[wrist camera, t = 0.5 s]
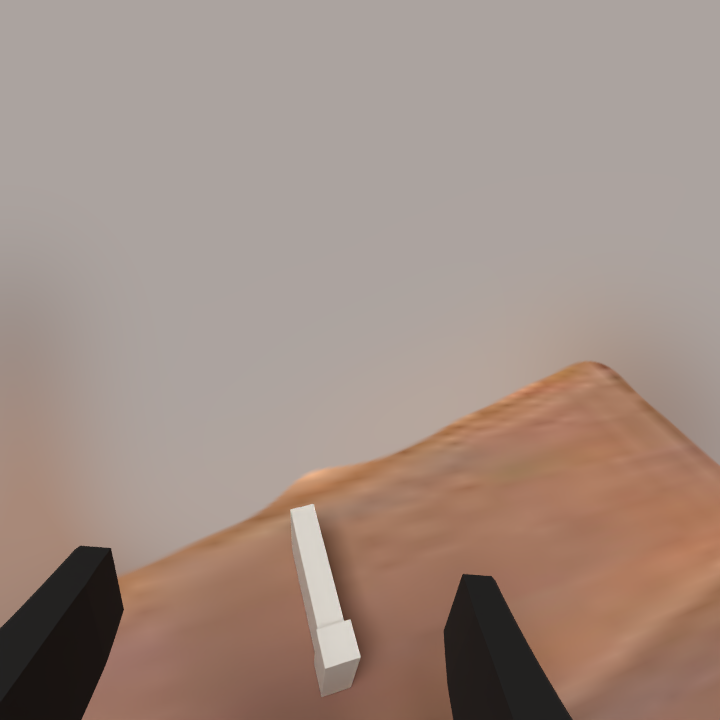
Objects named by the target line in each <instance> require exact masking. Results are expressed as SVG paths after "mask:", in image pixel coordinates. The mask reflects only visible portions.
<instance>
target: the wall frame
mask: <svg viewBox="0 0 720 720" xmlns="http://www.w3.org/2000/svg"><path fill="white" fill-rule="evenodd" d="M290 512H291V535H292V551H293V556H294V560H295V565H296V569H297V574H298V578H299V583H300V587H301V592H302V597H303V601H304V606H305V610H306V615H307V619H308V624H309V628H310V633H311V638H312V642H313V647H314V651H315V658H314V665H315V670H316V675H317V679H318V684H319V689H320V693H321V697H324V696H327V695H330V694H333V693H336V692H339V691H342V690H345V689H348V688H351V686H352V683H353V679H354V676H355V673H356V670H357V667H358V664H359V661H360V658H361V657H360V653H359V649H358V646H357V642H356V638H355V634H354V631H353V627H352V623H351V620H346V621H344V619H343V615H342V611H341V607H340V603H339V600H338V596H337V592H336V588H335V584H334V581H333V577H332V573H331V569H330V565H329V561H328V558H327V554H326V550H325V546H324V542H323V538H322V535H321V531H320V527H319V523H318V519H317V516H316V512H315V508H314V504H311V505H307V506H303V507H299V508H295V509H290Z"/></svg>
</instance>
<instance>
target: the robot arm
mask: <svg viewBox="0 0 720 720" xmlns="http://www.w3.org/2000/svg"><path fill="white" fill-rule="evenodd" d="M123 610H124V608H123V603H122V598H121V594H120V589H119V584H118V579H117V575H116V570H115V565H114V560H113V557H112V551H111V548H102V547H89V546H79V547H78V548H76V549H75V550H74V551H73V552H72V553H71V554H70V556H69V557H68V558H67V559H66V560H65V561H64V562H63V563H62V564H61V565H60V566H59V567H58V569H57V570H56V571H55V572H54V573H53V574H52V575H51V576H50V577H49V578H48V579H47V580H46V582H45V583H44V584H43V585H42V586H41V587H40V588H39V589H38V590H37V591H36V592H35V593H34V594H33V595H32V596H31V597H30V599H28V600H27V601H26V603H25V604H24V605H23V606H22V607H21V608H20V609H19V610H18V611H17V612H16V613H15V614H14V615H13V616H12V617H11V618H10V619H9V620H8V621H7V622H6V623H5V624H4V625H3V626H2V627H1V628H0V720H81V719H82V717H83V715H84V713H85V710H86V708H87V706H88V704H89V701H90V699H91V697H92V695H93V692H94V690H95V688H96V686H97V683H98V681H99V679H100V677H101V674H102V672H103V670H104V667H105V665H106V662H107V660H108V657H109V654H110V651H111V648H112V645H113V642H114V639H115V636H116V633H117V629H118V626H119V623H120V620H121V617H122V614H123ZM444 643H445V658H446V671H447V683H448V690H449V696H450V702H451V708H452V714H453V720H572V718H571V716H570V715H569V713H568V712H567V710H566V708H565V707H564V705H563V704H562V702H561V700H560V699H559V697H558V695H557V693H556V692H555V690H554V688H553V687H552V685H551V683H550V682H549V680H548V678H547V677H546V675H545V673H544V671H543V670H542V668H541V666H540V665H539V663H538V661H537V659H536V658H535V656H534V654H533V652H532V650H531V649H530V647H529V645H528V643H527V641H526V639H525V638H524V636H523V634H522V632H521V630H520V628H519V627H518V625H517V623H516V621H515V619H514V617H513V615H512V613H511V611H510V609H509V607H508V605H507V603H506V601H505V599H504V597H503V595H502V593H501V591H500V589H499V587H498V585H497V583H496V581H495V580H494V579H493V577H492V576H481V575H468V574H463V575H462V578H461V581H460V584H459V587H458V590H457V593H456V596H455V599H454V602H453V605H452V608H451V611H450V614H449V617H448V620H447V623H446V626H445V629H444Z"/></svg>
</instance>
